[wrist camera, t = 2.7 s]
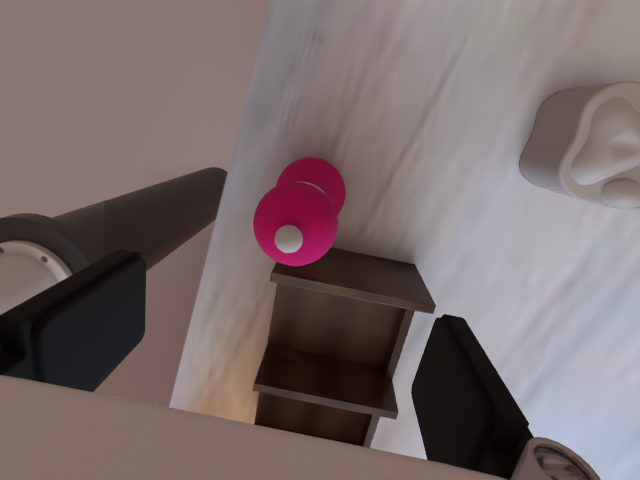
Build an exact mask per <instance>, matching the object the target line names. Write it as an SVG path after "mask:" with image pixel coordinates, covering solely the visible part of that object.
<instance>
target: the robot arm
mask: <svg viewBox="0 0 640 480" xmlns="http://www.w3.org/2000/svg"><path fill="white" fill-rule="evenodd" d="M145 291H146V261H145V259H144V258H142V257H141V254H140V253H138V252H133V251H128V250H123V249H118V250H116V251H114V252H113V253H111V254H109V255H107V256H105V257H104V258H102V259H100V260H98V261H96V262H95V263H93V264H91V265H89V266H87V267H85V268H84V269H82V270H80V271H78V272H76V273H75V274H72V272H71V271H70V269H69V268H68V266H67V265H66V264H65V263H64V262H63V261H62V260H61V259H60V258H59V257H58V256H57V255H56V254H54V253H53V252H51V251H50V250H48V249H47V248H45V247H43V246H41V245H38V244H36V243H32V242H29V241H22V240H12V241H7V242H4V243H0V480H600V478H599V476H598V475H597V474H596V472H595V471H594V470H593V469H592V467H591V466H590V465H589V464H588V463H587V462H585V461H584V460H583V459H582V458H581V457H580V456H579V455H577V454H576V453H575V452H573V451H572V450H571V449H569V448H567V447H566V446H564V445H562V444H560V443H558V442H556V441H553V440H550V439H548V438H541V437H536V438H534V437H533V435H532V434H531V432H530V430H529V429H528V425H529V423H528V421H527V420H526V418H525V416H524V415H523V413H522V411H521V410H520V408H519V407H518V405H517V403H516V402H515V400H514V399H513V397H512V395H511V394H510V392H509V390H508V389H507V387H506V386H505V384H504V382H503V381H502V379H501V378H500V376H499V374H498V373H497V371H496V369H495V368H494V366H493V365H492V363H491V361H490V360H489V358H488V356H487V355H486V353H485V352H484V350H483V348H482V347H481V345H480V344H479V342H478V340H477V339H476V337H475V335H474V334H473V332H472V331H471V329H470V327H469V326H468V324H467V323H466V321H465V319H464V318H461V317H456V316H451V315H446V314H444V315H443V316H442V317H441V318H436V320H435V322H434V324H433V327H432V330H431V333H430V336H429V339H428V341H427V344H426V347H425V350H424V353H423V356H422V358H421V361H420V364H419V367H418V370H417V373H416V375H415V378H414V381H413V384H412V391H411V393H412V399H413V403H414V407H415V411H416V415H417V419H418V423H419V427H420V431H421V435H422V439H423V443H424V447H425V451H426V455H427V459H428V460H424V459H420V458H415V457H410V456H405V455H400V454H396V453H391V452H386V451H381V450H376V449H372V448H367V447H362V446H357V445H352V444H347V443H343V442H338V441H333V440H328V439H323V438H318V437H313V436H308V435H303V434H298V433H293V432H288V431H283V430H278V429H273V428H268V427H263V426H258V425H253V424H249V423H244V422H239V421H234V420H229V419H224V418H219V417H214V416H209V415H204V414H199V413H194V412H189V411H184V410H179V409H174V408H169V407H164V406H160V405H154V404H150V403H144V402H140V401H135V400H130V399H125V398H120V397H114V396H109V395H104V394H99V393H94V391H95V389H96V388H97V387H98V386H99V385H100V384H101V383H102V382H103V381H104V380H105V379H106V378H107V377H108V376H109V374H110V373H111V372H112V371H113V370H114V369H115V368H116V367H117V366H118V365H119V364H120V363H121V362H122V361H123V360H124V358H125V357H126V356H127V355H128V354H129V353H130V352H131V351H132V350H133V349H134V347H136V346H137V345H138V343H139V342H140V341H141V340H142V338H143V336H144V332H145V297H146V296H145V294H146V292H145Z"/></svg>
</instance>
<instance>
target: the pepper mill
mask: <svg viewBox="0 0 640 480" xmlns="http://www.w3.org/2000/svg"><path fill="white" fill-rule="evenodd" d="M344 200H345V185H344V182H343V179H342V177H341V175H340V174H339V172H338V171H337V170H336V168H334V167H333V166H332V165H331V164H329V163H328V162H326V161H324V160H321V159H317V158H303V159H299V160H297V161H294V162H293V163H291V164H290V165H289V166H287V167H286V168H285V170H284V171H283V172H282V174H281V175H280V177H279V179H278V182H277V185H276V187H275V188H273V189H271V190H270V191H269V192H267V193H266V194H265V195H264V197H263V198H262V199H261V201H260V202H259V204H258V206H257V209H256V211H255V215H254V222H253V225H254V233H255V237H256V239H257V242H258V244H259V246H260V247H261V249H262V250H263V251H264V252H265V253H266V254H267V255H268V256H269V257H270V258H272V259H273V260H275V261H277V262H279V263H282V264H285V265H290V266H302V265H306V264H309V263H312V262H315V261H316V260H318V259H320V258H321V257H322V256H323V255H324V254H325V253H326V252H327V251H328V250H329V249H330V247H331V246H332V244H333V242H334V240H335V237H336V233H337V224H338V220H337V215H338V214H339V212H340V211H341V208H342V206H343V204H344Z"/></svg>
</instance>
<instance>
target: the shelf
mask: <svg viewBox="0 0 640 480" xmlns="http://www.w3.org/2000/svg"><path fill="white" fill-rule="evenodd" d="M270 281H272V282H277V283H278V284H277V290H276V296H275V302H274V309H273V315H272V321H271V327H270V333H269V339H268V344H267V347H266V350H265V353H264V356H263V359H262V362H261V365H260V368H259V371H258V373H257V376H256V379H255V382H254V387H253V391H258V392H260V393H259V399H258V405H257V411H256V417H255V423H254V425H258V426H263V427H268V428H273V429H278V430H283V431H288V432H293V433H298V434H303V435H308V436H313V437H318V438H323V439H328V440H333V441H338V442H343V443H347V444H352V445H357V446H362V447H367V448H370V446H371V443H372V440H373V436H374V433H375V430H376V427H377V424H378V421H379V418H380V416H381V417H386V418H391V419H396V418H397V415H398V408H397V403H396V398H395V392H394V387H393V382H392V379H393V376H394V373H395V369H396V366H397V363H398V360H399V357H400V354H401V351H402V348H403V345H404V342H405V339H406V336H407V333H408V330H409V327H410V324H411V321H412V318H413V315H414V312H415V311H420V312H425V313H430V314H433V313H434V310H435V307H436V305H435V303H434V301H433V299H432V297H431V295H430V293H429V291H428V289H427V287H426V285H425V283H424V281H423V279H422V277H421V275H420V273H419V272H418V270H417V268H416V266H415V264H410V263H405V262H400V261H395V260H390V259H385V258H380V257H375V256H370V255H365V254H360V253H356V252H351V251H346V250H341V249H336V248H331V247H330V249H329V250H328V251H327V252H326V253H325V254H324V255H323V256H322V257H321V258H320V259H318V260H316V261H315V262H312V263H309V264H306V265H302V266H290V265H285V264H282V263H279V262H276V264H275V266H274V269H273V271H272V273H271V279H270Z"/></svg>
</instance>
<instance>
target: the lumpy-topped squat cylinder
mask: <svg viewBox="0 0 640 480" xmlns="http://www.w3.org/2000/svg"><path fill="white" fill-rule="evenodd" d="M519 166H520V170H521V173H522V175H523V176H524V177H525V179H526V180H527V181H529V182H530V183H532V184H534V185H536V186H539V187H542V188H545V189H548V190H551V191H555V192H558V193H561V194H564V195H567V196H570V197H573V198H577V199H580V200H583V201H586V202H589V203H592V204H596V205H600V206H604V207H610V208H616V209H623V210H640V82H618V83H612V84H605V85H598V86H591V87H584V88H578V89H571V90H565V91H561V92H559V93H556V94H554V95H552V96H551V97H549V98H548V99H547V100H546V101H545V102H544V103H543V104H542V105H541V107H540V108H539V110H538V113H537V116H536V120H535V124H534V129H533V132H532V135H531V137H530V139H529V141H528V143H527V145H526V146H525V148H524V150H523V152H522V154H521V157H520V162H519Z"/></svg>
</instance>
